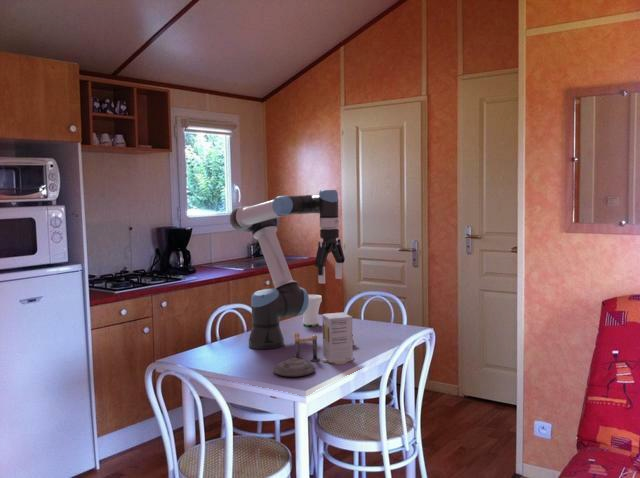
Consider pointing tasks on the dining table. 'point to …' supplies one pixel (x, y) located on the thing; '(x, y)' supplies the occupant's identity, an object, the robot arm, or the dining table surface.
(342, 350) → the supplement box
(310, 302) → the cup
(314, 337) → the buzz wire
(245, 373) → the dining table surface
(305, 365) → the flying saucer
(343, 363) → the coaster
